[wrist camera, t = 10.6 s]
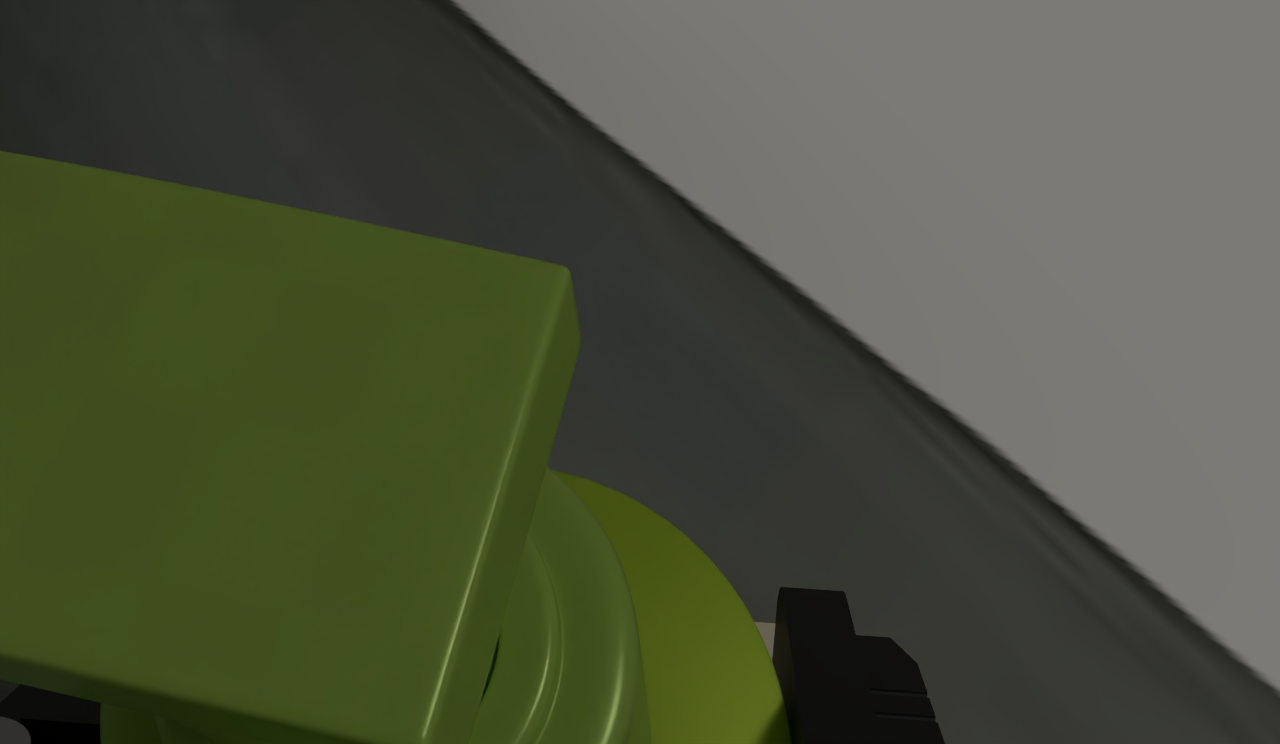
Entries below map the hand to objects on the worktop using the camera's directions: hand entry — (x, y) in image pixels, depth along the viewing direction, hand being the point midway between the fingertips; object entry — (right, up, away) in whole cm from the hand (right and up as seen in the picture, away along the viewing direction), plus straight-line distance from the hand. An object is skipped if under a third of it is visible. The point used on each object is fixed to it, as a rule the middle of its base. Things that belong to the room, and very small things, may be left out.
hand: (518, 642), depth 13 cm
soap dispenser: (0, -7, +9) cm, 11 cm away
